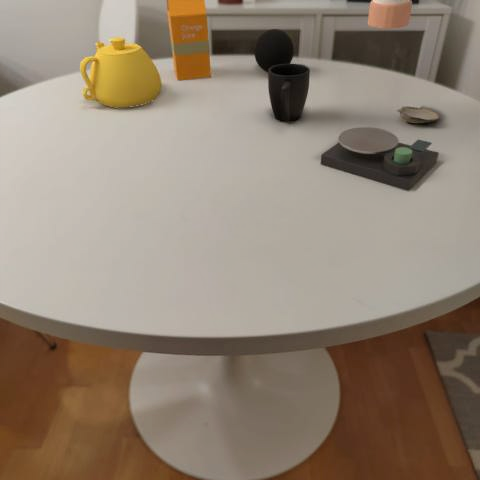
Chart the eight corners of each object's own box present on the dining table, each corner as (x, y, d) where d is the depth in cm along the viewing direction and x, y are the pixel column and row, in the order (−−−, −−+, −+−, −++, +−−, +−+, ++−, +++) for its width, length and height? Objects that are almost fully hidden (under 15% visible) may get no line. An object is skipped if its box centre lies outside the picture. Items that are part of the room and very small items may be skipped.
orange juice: (211, 77, 118) (204, -15, 105) (177, 80, 117) (166, -12, 104) (206, 68, 124) (199, -20, 111) (174, 71, 123) (163, -17, 109)
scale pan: (431, 143, 77) (432, 141, 76) (407, 166, 71) (407, 164, 71) (355, 125, 84) (355, 122, 83) (327, 144, 78) (327, 142, 78)
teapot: (176, 98, 107) (168, 38, 99) (101, 119, 99) (86, 55, 90) (136, 78, 119) (126, 23, 111) (67, 95, 111) (51, 37, 103)
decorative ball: (295, 67, 122) (297, 25, 116) (289, 79, 115) (291, 35, 108) (258, 66, 124) (258, 24, 117) (251, 77, 117) (250, 34, 110)
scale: (436, 162, 79) (441, 143, 77) (407, 191, 72) (412, 171, 70) (353, 140, 87) (355, 122, 84) (320, 164, 80) (322, 145, 77)
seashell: (439, 133, 92) (421, 110, 96) (447, 120, 90) (428, 97, 94) (404, 132, 89) (387, 109, 94) (412, 119, 87) (394, 95, 91)
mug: (262, 131, 91) (262, 81, 85) (271, 109, 100) (271, 62, 94) (303, 133, 90) (306, 83, 84) (308, 110, 99) (311, 63, 92)
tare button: (412, 160, 73) (415, 149, 72) (406, 166, 72) (408, 155, 71) (397, 155, 75) (399, 145, 73) (390, 161, 73) (392, 151, 72)
